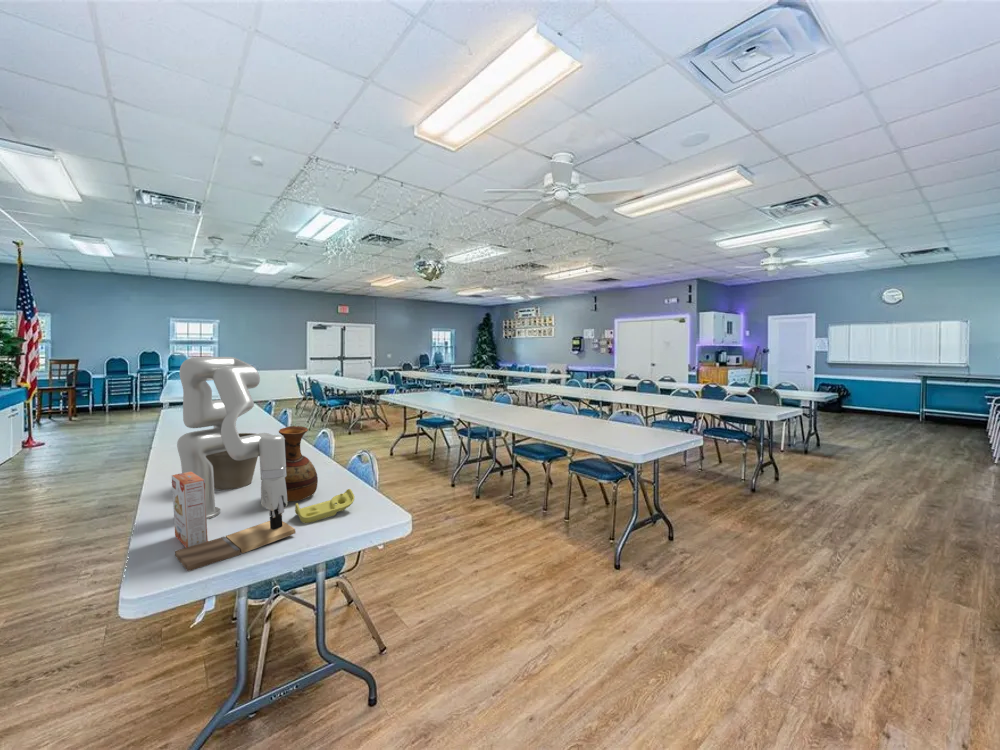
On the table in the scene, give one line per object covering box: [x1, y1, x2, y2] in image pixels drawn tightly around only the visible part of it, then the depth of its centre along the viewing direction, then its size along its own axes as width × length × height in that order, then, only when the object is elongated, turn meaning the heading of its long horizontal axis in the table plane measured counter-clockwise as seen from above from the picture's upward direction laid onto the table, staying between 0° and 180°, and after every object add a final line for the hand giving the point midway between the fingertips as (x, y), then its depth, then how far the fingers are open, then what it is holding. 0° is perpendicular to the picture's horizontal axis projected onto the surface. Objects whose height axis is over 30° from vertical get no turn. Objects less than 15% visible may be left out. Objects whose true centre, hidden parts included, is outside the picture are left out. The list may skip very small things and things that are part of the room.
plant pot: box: [206, 432, 259, 491], centre depth 194 cm, size 25×25×22 cm
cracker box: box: [171, 472, 209, 548], centre depth 137 cm, size 14×6×21 cm, turn 50°
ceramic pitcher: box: [278, 425, 319, 503], centre depth 177 cm, size 20×20×30 cm
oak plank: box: [225, 520, 296, 554], centre depth 139 cm, size 16×14×2 cm
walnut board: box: [174, 536, 241, 572], centre depth 127 cm, size 14×13×2 cm
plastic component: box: [294, 488, 355, 524], centre depth 160 cm, size 20×7×10 cm
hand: (276, 527), depth 141 cm, fingers closed
